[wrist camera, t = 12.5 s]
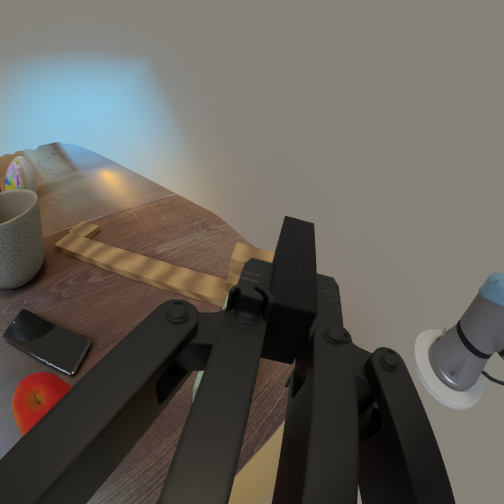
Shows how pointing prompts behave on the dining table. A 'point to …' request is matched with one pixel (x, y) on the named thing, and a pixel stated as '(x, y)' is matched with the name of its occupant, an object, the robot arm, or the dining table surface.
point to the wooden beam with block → (157, 265)
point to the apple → (36, 398)
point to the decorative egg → (21, 175)
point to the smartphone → (48, 342)
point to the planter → (19, 238)
